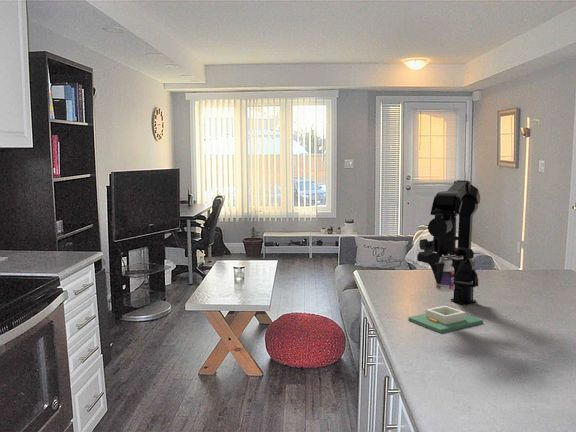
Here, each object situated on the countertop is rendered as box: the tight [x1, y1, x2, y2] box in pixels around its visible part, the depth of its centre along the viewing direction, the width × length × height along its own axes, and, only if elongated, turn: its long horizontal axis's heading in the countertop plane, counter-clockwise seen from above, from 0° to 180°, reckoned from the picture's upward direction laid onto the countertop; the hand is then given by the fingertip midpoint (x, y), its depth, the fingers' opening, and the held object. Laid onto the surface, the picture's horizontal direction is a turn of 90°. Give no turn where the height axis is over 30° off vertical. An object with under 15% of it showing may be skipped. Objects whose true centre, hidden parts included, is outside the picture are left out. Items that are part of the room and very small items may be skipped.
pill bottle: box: [435, 258, 454, 293], centre depth 170 cm, size 5×5×10 cm
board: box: [407, 305, 484, 334], centre depth 171 cm, size 18×14×4 cm
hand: (445, 282), depth 170 cm, fingers closed on pill bottle, 5 cm apart
